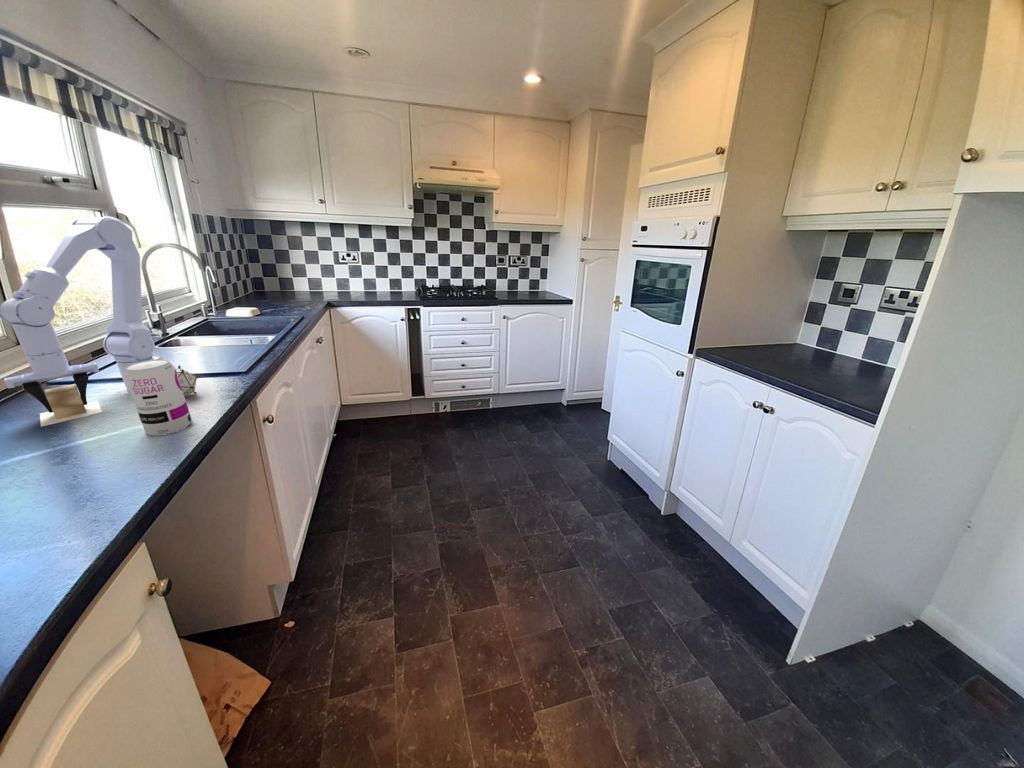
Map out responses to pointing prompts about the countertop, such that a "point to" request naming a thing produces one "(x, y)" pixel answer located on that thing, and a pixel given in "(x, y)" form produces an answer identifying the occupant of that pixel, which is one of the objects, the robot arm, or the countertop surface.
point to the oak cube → (65, 401)
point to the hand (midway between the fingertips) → (68, 407)
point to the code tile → (51, 419)
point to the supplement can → (158, 396)
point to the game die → (186, 381)
